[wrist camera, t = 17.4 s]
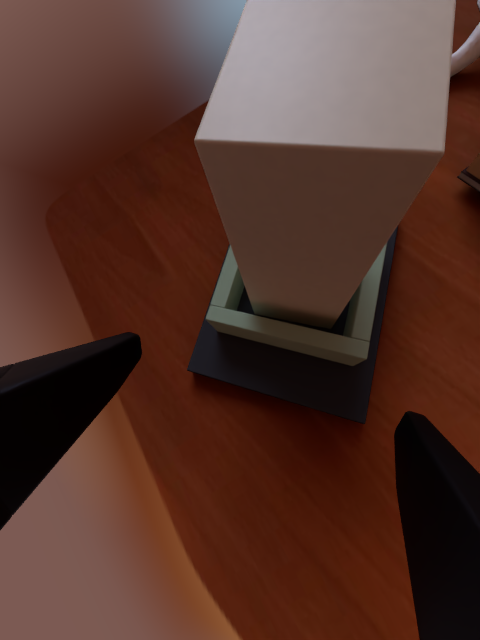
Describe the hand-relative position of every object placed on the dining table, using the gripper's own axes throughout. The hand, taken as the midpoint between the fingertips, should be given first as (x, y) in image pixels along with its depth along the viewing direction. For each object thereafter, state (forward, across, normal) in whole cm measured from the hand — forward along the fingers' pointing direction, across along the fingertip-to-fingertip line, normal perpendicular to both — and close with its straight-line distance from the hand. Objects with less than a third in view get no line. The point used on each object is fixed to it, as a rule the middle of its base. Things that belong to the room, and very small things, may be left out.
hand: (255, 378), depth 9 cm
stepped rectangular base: (+13, 0, +2) cm, 13 cm away
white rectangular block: (+12, 0, +1) cm, 12 cm away
